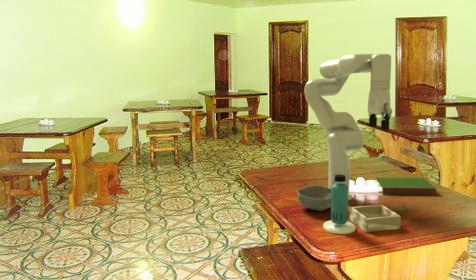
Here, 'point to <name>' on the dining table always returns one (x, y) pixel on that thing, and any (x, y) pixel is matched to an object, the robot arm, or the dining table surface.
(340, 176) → the beverage bottle
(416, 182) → the hardcover book
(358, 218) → the wooden frame
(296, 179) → the dining table surface
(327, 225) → the plate
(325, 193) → the bowl
